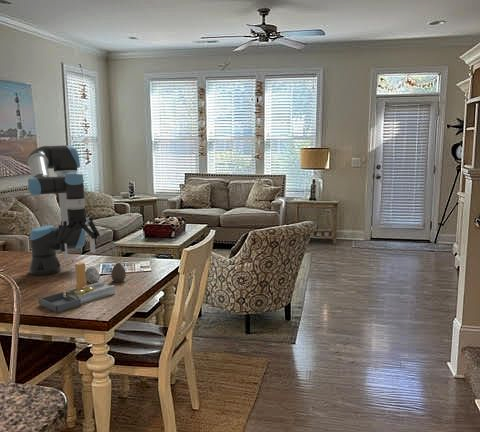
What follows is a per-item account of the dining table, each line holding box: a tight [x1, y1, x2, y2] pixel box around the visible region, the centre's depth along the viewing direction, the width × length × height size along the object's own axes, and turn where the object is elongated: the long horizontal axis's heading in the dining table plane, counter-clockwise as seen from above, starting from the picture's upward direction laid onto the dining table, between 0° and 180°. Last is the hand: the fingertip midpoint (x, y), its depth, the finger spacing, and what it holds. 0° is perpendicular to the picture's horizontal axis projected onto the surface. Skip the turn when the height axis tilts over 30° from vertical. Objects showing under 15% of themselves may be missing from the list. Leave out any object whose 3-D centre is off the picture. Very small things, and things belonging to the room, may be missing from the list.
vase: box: [110, 262, 127, 283], centre depth 228 cm, size 7×7×9 cm
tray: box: [38, 291, 82, 314], centre depth 195 cm, size 14×11×3 cm
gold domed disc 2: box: [85, 286, 95, 293], centre depth 206 cm, size 4×4×2 cm
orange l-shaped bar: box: [74, 262, 88, 289], centre depth 212 cm, size 6×3×13 cm, turn 50°
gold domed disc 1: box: [75, 289, 85, 296], centre depth 202 cm, size 4×4×2 cm
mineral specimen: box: [85, 266, 101, 284], centre depth 228 cm, size 16×7×7 cm, turn 24°
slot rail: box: [65, 281, 116, 305], centre depth 206 cm, size 10×18×4 cm, turn 140°
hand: (79, 255), depth 210 cm, fingers open, 13 cm apart
